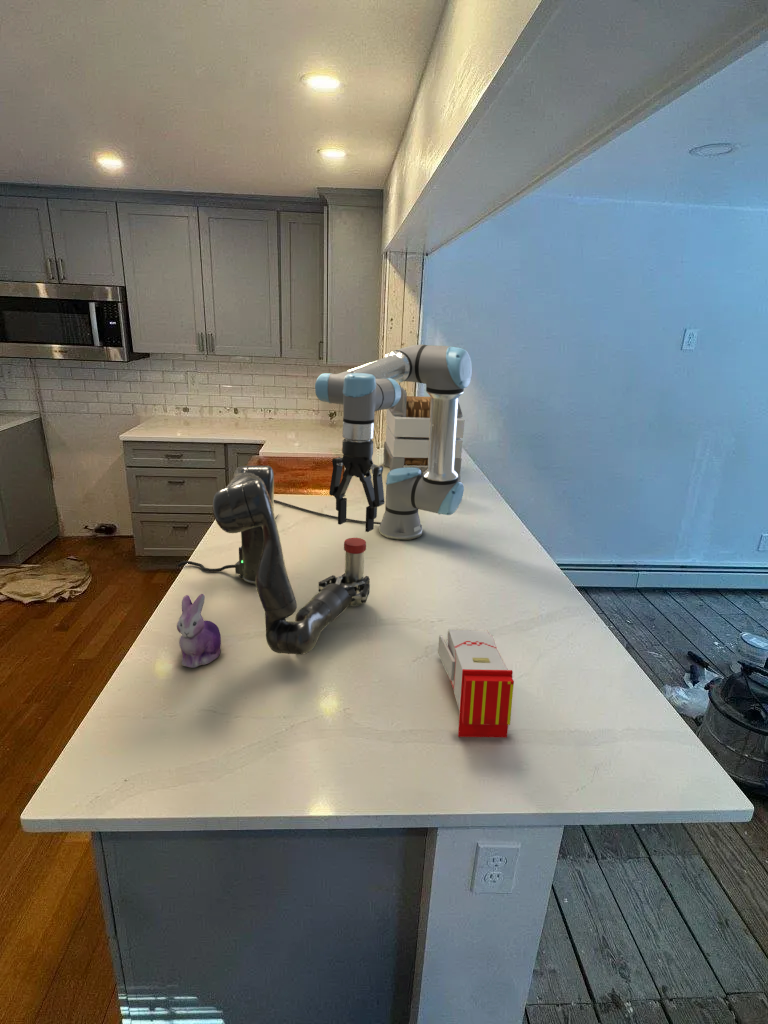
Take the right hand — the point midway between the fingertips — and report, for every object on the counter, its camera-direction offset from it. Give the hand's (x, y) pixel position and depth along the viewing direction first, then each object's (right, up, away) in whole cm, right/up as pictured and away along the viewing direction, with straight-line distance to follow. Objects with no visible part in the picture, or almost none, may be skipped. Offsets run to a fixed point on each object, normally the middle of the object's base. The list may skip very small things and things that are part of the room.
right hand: (355, 526), depth 145 cm
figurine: (-33, -29, -19) cm, 48 cm away
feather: (-32, +1, +63) cm, 71 cm away
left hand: (0, -14, +8) cm, 16 cm away
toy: (+25, -34, -27) cm, 50 cm away
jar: (-1, -20, +7) cm, 22 cm away
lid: (0, -4, +2) cm, 5 cm away
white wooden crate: (+25, +23, +130) cm, 134 cm away
